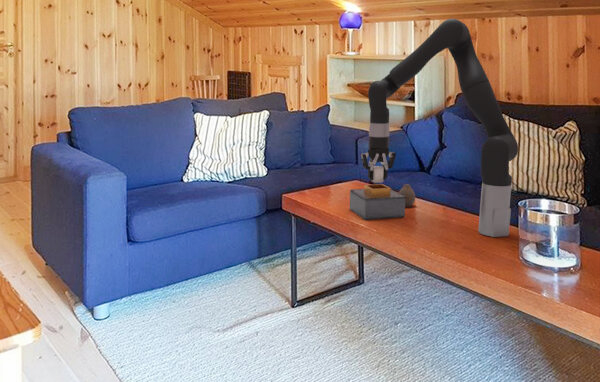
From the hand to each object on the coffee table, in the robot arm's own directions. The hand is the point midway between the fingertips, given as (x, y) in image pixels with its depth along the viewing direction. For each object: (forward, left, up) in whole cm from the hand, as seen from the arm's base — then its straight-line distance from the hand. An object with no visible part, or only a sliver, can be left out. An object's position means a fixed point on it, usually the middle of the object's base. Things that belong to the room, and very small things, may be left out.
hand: (377, 179), depth 204 cm
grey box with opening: (+2, 0, -13) cm, 13 cm away
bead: (0, 0, -1) cm, 1 cm away
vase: (+7, -16, -14) cm, 22 cm away
